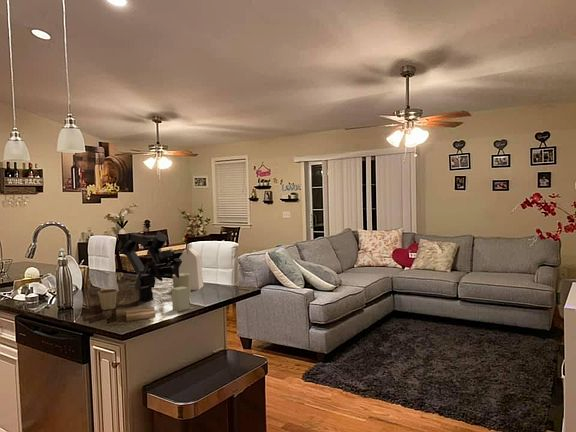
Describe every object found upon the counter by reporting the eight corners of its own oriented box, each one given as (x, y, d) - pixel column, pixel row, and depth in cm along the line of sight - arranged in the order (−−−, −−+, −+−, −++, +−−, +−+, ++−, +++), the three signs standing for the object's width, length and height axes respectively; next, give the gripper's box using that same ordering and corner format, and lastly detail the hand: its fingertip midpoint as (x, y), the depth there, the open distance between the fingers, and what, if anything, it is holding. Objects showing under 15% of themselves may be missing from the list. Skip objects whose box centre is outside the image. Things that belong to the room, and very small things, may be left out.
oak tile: (126, 315, 199) (126, 310, 198) (154, 312, 203) (153, 307, 203) (126, 322, 187) (126, 316, 187) (155, 318, 191) (155, 312, 191)
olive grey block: (186, 297, 230) (185, 275, 229) (170, 297, 232) (169, 275, 231) (193, 293, 239) (192, 272, 238) (178, 293, 241) (177, 272, 240)
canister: (172, 309, 204) (171, 288, 204) (182, 307, 208) (181, 286, 208) (179, 311, 201) (178, 289, 200) (189, 308, 205) (188, 287, 204)
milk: (199, 289, 250) (196, 244, 249) (179, 290, 250) (176, 245, 249) (203, 285, 262) (201, 242, 261) (184, 286, 262) (182, 243, 261)
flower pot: (121, 305, 217) (120, 288, 217) (115, 310, 208) (114, 292, 208) (102, 306, 217) (101, 289, 217) (95, 311, 208) (94, 293, 207)
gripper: (145, 246, 206) (158, 271, 199) (179, 242, 219) (193, 265, 212) (137, 261, 211) (150, 286, 204) (171, 256, 225) (184, 280, 218)
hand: (170, 279), depth 209 cm, fingers open, 9 cm apart
